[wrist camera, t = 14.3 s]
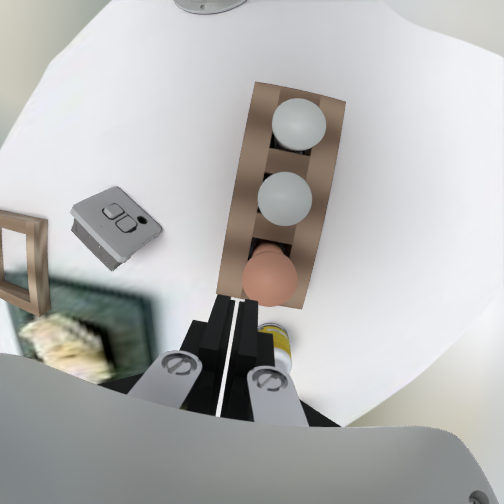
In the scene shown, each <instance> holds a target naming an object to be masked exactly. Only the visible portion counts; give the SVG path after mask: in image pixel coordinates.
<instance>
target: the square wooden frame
mask: <svg viewBox="0 0 504 504" xmlns="http://www.w3.org/2000/svg"><path fill="white" fill-rule="evenodd" d="M47 223H48V220H45V219H40V218H36V217H31V216H26V215H21V214H17V213H12V212H7V211H2V210H0V298H1V299H3V300H5V301H7V302H9V303H11V304H13V305H15V306H17V307H19V308H21V309H24V310H26V311H28V312H30V313H32V314H34V315H37V316H39V317H40V316H42V315H43V314H44V313H46V312H47V311H49V310H50V309H51V306H50V295H49V282H48V262H47ZM1 227H2V228H5V229H9V230H13V231H16V232H20V233H24V234H26V250H27V270H28V283H29V291H28V290H26V289H23V288H21V287H19V286H16V285H14V284H12V283H10V282H7V281H5V280H4V270H3V258H2V238H1Z"/></svg>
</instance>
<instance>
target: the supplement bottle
mask: <svg viewBox="0 0 504 504" xmlns="http://www.w3.org/2000/svg"><path fill="white" fill-rule="evenodd" d="M258 331H259V332H265V333H272V334H273V341H274V356H275V367H276V368H279V369H281V370H283V371H285V372H286V373H287V374H288V375H289V373H290V371H291V368H292V360H291V352H290V345H289V338H288V334H287V332H286V331H285V330H284V329H283V328H282V327H281V326H279V325H276V324H264V325H261V326H259V327H258Z"/></svg>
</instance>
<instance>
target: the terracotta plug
mask: <svg viewBox="0 0 504 504" xmlns="http://www.w3.org/2000/svg"><path fill="white" fill-rule="evenodd" d="M297 284H298V276H297V272H296V269H295V267H294V265H293V263H292V261H291V260H290V259H289V258H288V257H287V256H285V255H284V253H283V250H282V247H281V245H280V244H279V243H278V242H276V241H271V240H266V239H261V240H260V241H258V242H257V243H256V244H255V246H254V248H253V253H252V258H251V259H249V261H248V262H247V264H246V265H245V268H244V271H243V275H242V286H243V289H244V291H245V293H246V295H247V296H248V297H249V299H251V300H256V301H258V304H259V305H261V306H267V307H272V306H278V305H281V304H283V303H285V302H286V301H288V300H289V299H290V298H291V297H292V295H293V294H294V292H295V290H296V288H297Z"/></svg>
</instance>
